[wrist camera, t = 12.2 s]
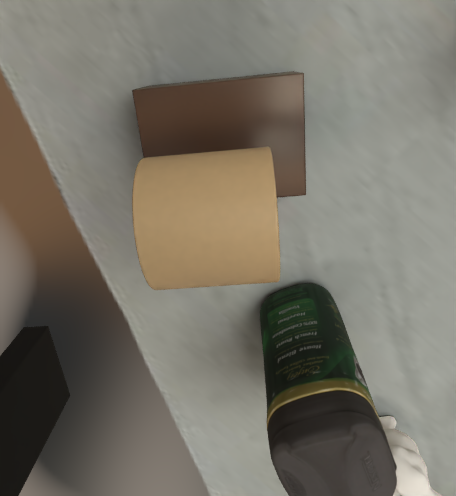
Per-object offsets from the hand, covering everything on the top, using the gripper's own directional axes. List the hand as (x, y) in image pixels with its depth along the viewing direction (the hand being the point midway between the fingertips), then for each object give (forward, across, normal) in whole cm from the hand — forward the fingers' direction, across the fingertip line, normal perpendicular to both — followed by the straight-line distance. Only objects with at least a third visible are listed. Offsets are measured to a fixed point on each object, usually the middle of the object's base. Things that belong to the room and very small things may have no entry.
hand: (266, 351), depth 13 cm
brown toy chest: (+26, -2, +2) cm, 27 cm away
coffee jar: (+26, +4, -17) cm, 32 cm away
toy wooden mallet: (+13, -2, +3) cm, 14 cm away
